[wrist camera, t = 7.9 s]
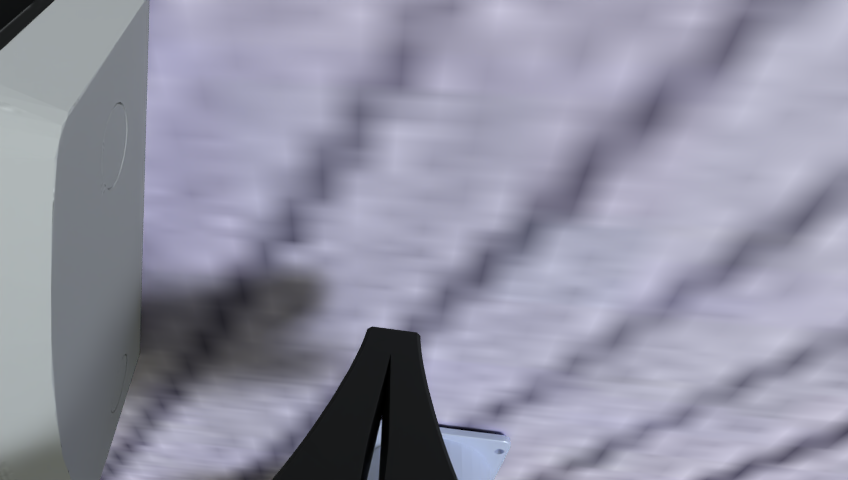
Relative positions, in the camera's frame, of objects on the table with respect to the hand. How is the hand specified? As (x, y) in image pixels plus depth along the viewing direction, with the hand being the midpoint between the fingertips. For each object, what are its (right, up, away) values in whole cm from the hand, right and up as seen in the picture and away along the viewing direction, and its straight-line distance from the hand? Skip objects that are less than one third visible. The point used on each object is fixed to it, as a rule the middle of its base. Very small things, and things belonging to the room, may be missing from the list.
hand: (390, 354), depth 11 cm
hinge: (-11, +4, +4) cm, 12 cm away
